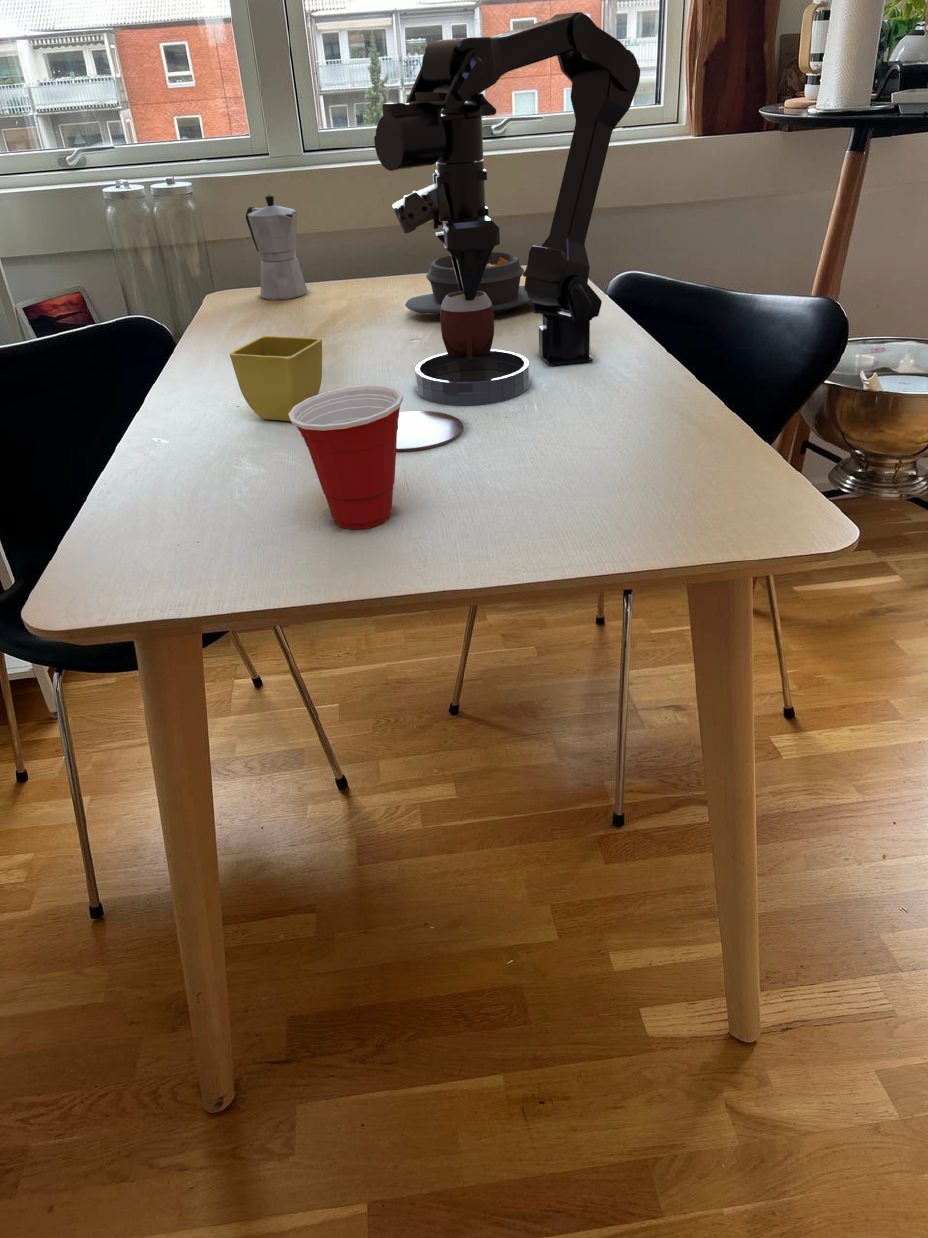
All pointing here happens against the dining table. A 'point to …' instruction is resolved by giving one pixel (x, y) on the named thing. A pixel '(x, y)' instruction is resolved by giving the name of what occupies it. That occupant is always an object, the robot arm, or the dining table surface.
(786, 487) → the dining table surface
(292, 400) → the flower pot
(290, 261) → the coffeepot
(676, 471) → the dining table surface
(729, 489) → the dining table surface
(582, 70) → the robot arm
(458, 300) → the mate gourd
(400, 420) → the disc
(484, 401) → the pan
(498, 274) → the casserole
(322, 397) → the plastic cup
